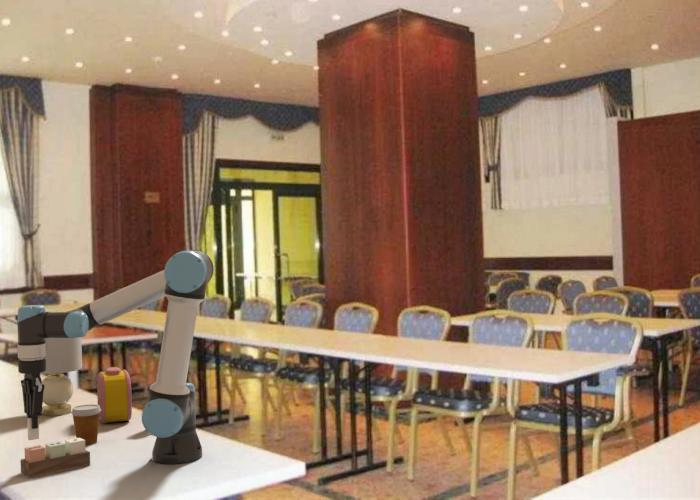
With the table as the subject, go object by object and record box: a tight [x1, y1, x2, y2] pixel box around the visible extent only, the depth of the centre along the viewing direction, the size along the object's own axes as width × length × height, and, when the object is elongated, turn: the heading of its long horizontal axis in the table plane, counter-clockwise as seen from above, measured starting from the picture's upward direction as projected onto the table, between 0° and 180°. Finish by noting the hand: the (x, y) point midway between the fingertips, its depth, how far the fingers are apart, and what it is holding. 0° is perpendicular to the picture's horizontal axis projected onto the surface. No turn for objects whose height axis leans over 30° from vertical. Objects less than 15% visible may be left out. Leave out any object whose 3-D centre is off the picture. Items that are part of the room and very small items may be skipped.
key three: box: [24, 444, 46, 463], centre depth 230 cm, size 4×4×5 cm
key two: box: [44, 440, 66, 459], centre depth 234 cm, size 4×4×5 cm
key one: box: [64, 437, 87, 455], centre depth 238 cm, size 4×4×5 cm
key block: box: [20, 449, 91, 479], centre depth 234 cm, size 7×18×4 cm, turn 131°
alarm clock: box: [96, 366, 133, 424], centre depth 297 cm, size 18×11×19 cm, turn 22°
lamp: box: [40, 337, 83, 417], centre depth 311 cm, size 20×20×35 cm
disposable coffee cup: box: [71, 403, 101, 446], centre depth 264 cm, size 10×10×12 cm
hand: (33, 439), depth 230 cm, fingers closed
